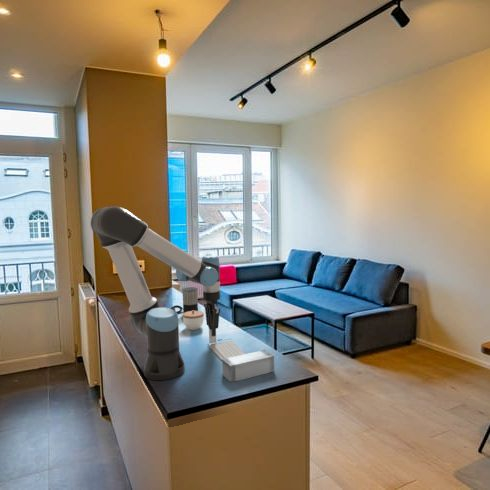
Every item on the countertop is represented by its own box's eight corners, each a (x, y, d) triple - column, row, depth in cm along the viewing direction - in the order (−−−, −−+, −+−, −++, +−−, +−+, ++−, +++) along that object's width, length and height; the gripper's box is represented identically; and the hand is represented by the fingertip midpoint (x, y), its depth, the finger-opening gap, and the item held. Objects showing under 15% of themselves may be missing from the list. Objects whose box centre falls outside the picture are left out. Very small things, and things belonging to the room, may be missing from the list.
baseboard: (229, 375, 142) (258, 370, 147) (228, 367, 142) (258, 362, 146) (205, 347, 171) (231, 343, 175) (205, 341, 171) (231, 337, 175)
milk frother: (200, 314, 223) (199, 289, 222) (173, 318, 218) (172, 292, 216) (194, 308, 237) (193, 285, 235) (168, 311, 231) (167, 287, 229)
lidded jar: (208, 327, 198) (207, 310, 197) (191, 332, 191) (190, 314, 190) (195, 323, 206) (195, 306, 205) (179, 328, 198) (178, 310, 197)
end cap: (230, 382, 136) (230, 365, 135) (222, 374, 142) (222, 359, 141) (274, 371, 144) (274, 355, 143) (264, 364, 150) (264, 349, 150)
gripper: (225, 292, 166) (226, 345, 169) (213, 287, 178) (214, 336, 180) (209, 294, 163) (210, 348, 165) (198, 289, 174) (199, 339, 177)
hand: (212, 342), depth 173 cm, fingers closed
